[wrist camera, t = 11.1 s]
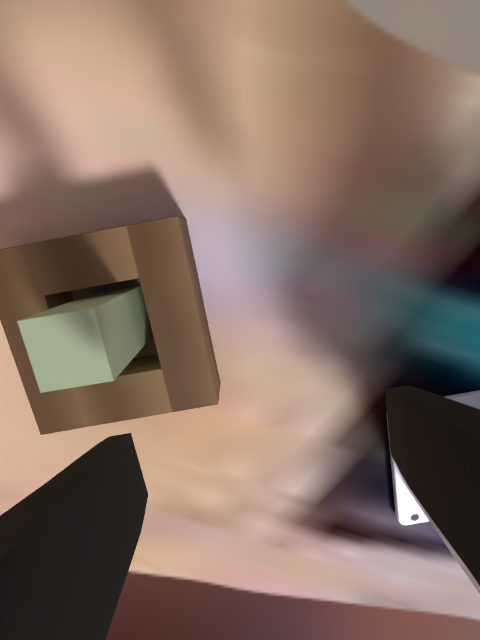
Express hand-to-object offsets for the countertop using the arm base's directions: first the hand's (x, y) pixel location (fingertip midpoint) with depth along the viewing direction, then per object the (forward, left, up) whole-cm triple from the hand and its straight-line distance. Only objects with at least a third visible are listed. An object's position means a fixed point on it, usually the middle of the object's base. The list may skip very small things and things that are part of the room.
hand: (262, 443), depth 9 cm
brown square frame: (+7, -2, -9) cm, 12 cm away
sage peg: (+7, -3, -9) cm, 12 cm away
